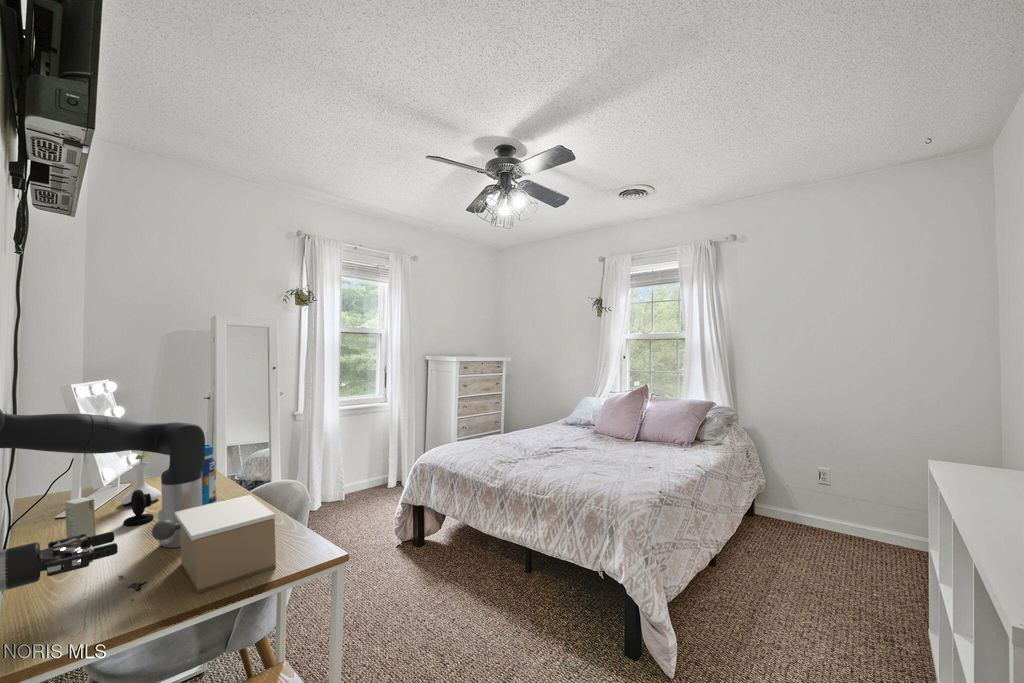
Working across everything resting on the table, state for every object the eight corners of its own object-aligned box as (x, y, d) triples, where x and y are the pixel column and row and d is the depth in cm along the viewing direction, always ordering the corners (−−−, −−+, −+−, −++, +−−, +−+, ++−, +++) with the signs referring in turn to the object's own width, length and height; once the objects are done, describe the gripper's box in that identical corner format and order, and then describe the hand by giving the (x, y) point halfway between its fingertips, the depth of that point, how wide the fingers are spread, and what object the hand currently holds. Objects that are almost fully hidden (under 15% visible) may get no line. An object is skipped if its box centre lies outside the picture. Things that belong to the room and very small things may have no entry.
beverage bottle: (182, 506, 158) (181, 448, 158) (208, 498, 165) (207, 442, 165) (196, 510, 154) (195, 450, 154) (222, 501, 161) (220, 445, 161)
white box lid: (159, 557, 96) (158, 536, 96) (146, 529, 111) (145, 511, 111) (275, 524, 112) (274, 506, 112) (250, 504, 127) (249, 488, 127)
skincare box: (96, 541, 130) (95, 498, 130) (77, 548, 126) (75, 504, 126) (85, 538, 133) (83, 496, 133) (65, 544, 129) (64, 501, 129)
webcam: (156, 521, 145) (155, 489, 145) (125, 528, 139) (124, 496, 139) (150, 515, 150) (150, 484, 150) (121, 522, 144) (120, 490, 144)
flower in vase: (144, 507, 157) (142, 434, 157) (111, 508, 157) (109, 435, 157) (173, 494, 170) (171, 427, 170) (142, 495, 170) (140, 428, 170)
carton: (198, 593, 101) (196, 539, 101) (181, 563, 116) (179, 516, 116) (275, 567, 113) (274, 518, 113) (251, 543, 127) (250, 499, 127)
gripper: (0, 562, 83) (118, 534, 94) (6, 539, 93) (112, 516, 105) (1, 603, 83) (119, 570, 94) (8, 576, 93) (113, 548, 105)
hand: (115, 541), depth 99 cm, fingers open, 8 cm apart
